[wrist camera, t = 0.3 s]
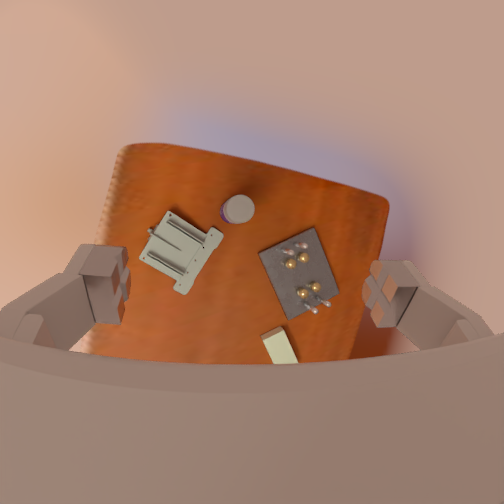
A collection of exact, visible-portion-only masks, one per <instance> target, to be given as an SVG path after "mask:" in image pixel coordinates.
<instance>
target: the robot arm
mask: <svg viewBox="0 0 504 504" xmlns="http://www.w3.org/2000/svg"><path fill="white" fill-rule="evenodd" d="M127 261H128V252H127V248H126V247H123V246H109V245H95V244H81V245H80V246H79V247H78V249H77V251H76V252H75V254H74V256H73V257H72V259H71V260H70V262H69V263H68V265H67V267H66V268H65V270H64V272H63V273H58V274H56V275H54V276H53V277H51V278H49V279H48V280H46V281H44V282H43V283H41V284H39V285H38V286H36V287H34V288H33V289H31V290H30V291H28V292H26V293H25V294H23V295H22V296H20V297H18V298H17V299H15V300H13V301H12V302H10V303H9V304H7V305H6V306H4V307H3V308H2V310H1V311H0V504H504V333H501V334H497V335H494V334H493V333H492V331H491V330H490V328H489V327H488V325H487V324H486V323H485V321H484V320H483V319H482V317H481V316H480V315H478V314H477V313H475V312H474V311H472V310H470V309H469V308H467V307H466V306H464V305H462V304H461V303H459V302H458V301H456V300H455V299H453V298H452V297H450V296H449V295H447V294H445V293H444V292H442V291H440V290H439V289H437V288H436V287H431V285H430V284H429V283H428V281H427V280H426V279H425V278H424V276H423V275H422V274H421V273H420V271H419V270H418V269H417V268H416V266H415V265H414V264H413V263H412V262H411V261H408V260H374V261H373V263H372V264H371V266H370V269H369V271H370V274H371V275H370V276H369V277H368V278H367V279H365V281H364V284H363V287H362V299H363V302H364V304H365V306H367V307H368V308H370V309H371V313H370V315H371V317H372V319H373V321H374V323H375V325H376V327H377V328H381V327H396V328H397V329H398V330H399V331H401V333H403V334H404V335H405V336H406V337H407V338H408V339H409V340H410V341H411V342H412V343H413V344H414V345H416V346H417V347H418V348H419V349H420V351H415V352H408V353H401V354H394V355H387V356H378V357H370V358H361V359H350V360H339V361H327V362H311V363H291V364H246V365H236V364H193V363H173V362H158V361H146V360H135V359H126V358H117V357H109V356H101V355H94V354H87V353H80V352H73V351H68V350H69V349H70V348H71V347H72V346H73V345H74V344H76V343H77V342H78V340H80V338H82V337H83V336H84V335H85V334H86V333H87V332H88V331H89V330H90V329H91V328H92V327H93V326H94V325H95V323H105V324H118V325H121V322H122V319H123V315H124V312H125V306H124V302H125V301H127V300H128V298H129V294H130V287H131V275H130V270H129V269H128V268H127V267H126V264H127Z"/></svg>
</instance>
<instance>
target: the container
mask: <svg viewBox="0 0 504 504" xmlns="http://www.w3.org/2000/svg"><path fill="white" fill-rule="evenodd" d="M254 210H255V208H254V204H253V202H252V200H251V199H250V198H249V197H247V196H245V195H236V196H234V197H232V198H230V199H228V200H227V201H226V202H225V203H224V204H223V205H222V206H221V209H220V216H221V218H222V219H223V220H224V221H225V222H227V223H233V224H239V223H244V222H247V221H248V220H250V219H251V218H252V216H253V214H254Z"/></svg>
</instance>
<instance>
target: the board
mask: <svg viewBox="0 0 504 504" xmlns="http://www.w3.org/2000/svg"><path fill="white" fill-rule="evenodd" d="M261 338H262V340H263V343H264V345H265V347H266V349H267V351H268V353H269V355H270V357H271V359H272V361H273V363H274V364H291V363H298V361H297V359H296V356H295V354H294V352H293V350H292V347H291V345H290V343H289V341H288V338H287V336H286V334H285V332H284V330H283V328H282V327H281V326H279V327H277V328H275V329H273V330H271V331H269V332H267V333H265V334H263V335H261Z"/></svg>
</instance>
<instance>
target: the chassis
mask: <svg viewBox="0 0 504 504" xmlns="http://www.w3.org/2000/svg"><path fill="white" fill-rule="evenodd" d="M258 255H259V257H260V259H261V262H262V264H263V266H264V268H265V271H266V273H267V275H268V277H269V279H270V282H271V284H272V286H273V288H274V291H275V293H276V295H277V297H278V300H279V302H280V304H281V306H282V309H283V311H284V313H285V315H286V318H287V319H288V320H290V319H292V318H294V317H296V316H298V315H300V314H302V313H304V312H306V311H308V310H311V311H312V312H313V313H315V314H317V313H318V312H319V311H318V309H316V308H315V306H317V305H319V304H321V303H323V304H324V305H326V306H327V307H330V306H331V303H330V302H329V301H327V300H328V299H330V298H332V297H334V296H336V295H337V294H339V291H338V288H337V285H336V282H335V280H334V277H333V274H332V272H331V269H330V267H329V264H328V261H327V259H326V256H325V254H324V251H323V249H322V246H321V243H320V241H319V238H318V236H317V234H316V231H315V229H314V228H309V229H307V230H305V231H303V232H301V233H299V234H297V235H295V236H293V237H290V238H288V239H286V240H284V241H282V242H280V243H278V244H276V245H274V246H271V247H269V248H267V249H265V250H263V251H261V252H259V253H258Z"/></svg>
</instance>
